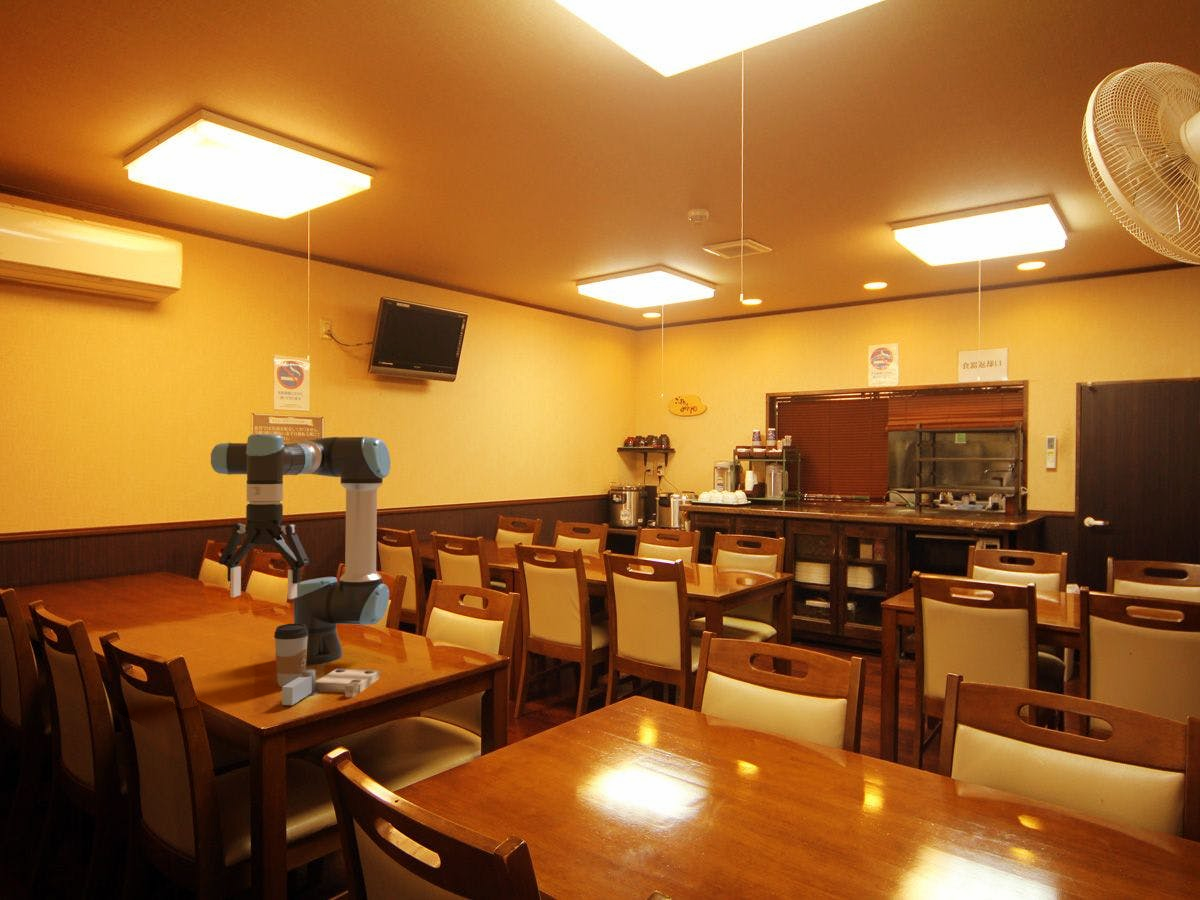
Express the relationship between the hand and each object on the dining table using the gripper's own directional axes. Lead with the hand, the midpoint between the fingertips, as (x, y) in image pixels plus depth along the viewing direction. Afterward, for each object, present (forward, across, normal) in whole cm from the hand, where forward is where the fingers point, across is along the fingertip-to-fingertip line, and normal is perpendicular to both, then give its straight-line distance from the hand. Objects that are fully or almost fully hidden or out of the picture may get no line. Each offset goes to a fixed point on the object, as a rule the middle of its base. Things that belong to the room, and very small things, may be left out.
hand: (263, 597), depth 169 cm
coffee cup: (+28, -7, +25) cm, 38 cm away
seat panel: (+28, +8, +26) cm, 39 cm away
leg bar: (+28, +1, +18) cm, 33 cm away
